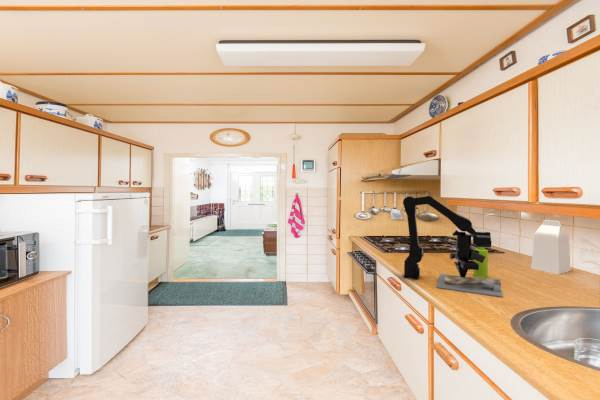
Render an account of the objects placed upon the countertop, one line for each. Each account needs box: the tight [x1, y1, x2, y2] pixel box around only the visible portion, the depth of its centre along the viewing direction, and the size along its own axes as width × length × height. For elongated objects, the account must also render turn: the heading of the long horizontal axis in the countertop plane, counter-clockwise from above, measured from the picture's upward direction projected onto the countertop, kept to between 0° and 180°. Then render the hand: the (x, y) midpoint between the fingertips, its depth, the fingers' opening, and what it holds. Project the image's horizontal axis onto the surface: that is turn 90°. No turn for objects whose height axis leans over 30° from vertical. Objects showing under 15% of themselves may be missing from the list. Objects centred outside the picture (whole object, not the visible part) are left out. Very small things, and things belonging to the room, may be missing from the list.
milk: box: [530, 219, 571, 275], centre depth 151 cm, size 12×12×26 cm
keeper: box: [481, 277, 502, 292], centre depth 123 cm, size 7×5×4 cm
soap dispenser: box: [473, 247, 489, 278], centre depth 141 cm, size 6×7×20 cm
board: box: [435, 273, 504, 298], centre depth 130 cm, size 24×22×1 cm
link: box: [445, 276, 483, 284], centre depth 131 cm, size 17×4×3 cm, turn 90°
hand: (462, 279), depth 133 cm, fingers closed
